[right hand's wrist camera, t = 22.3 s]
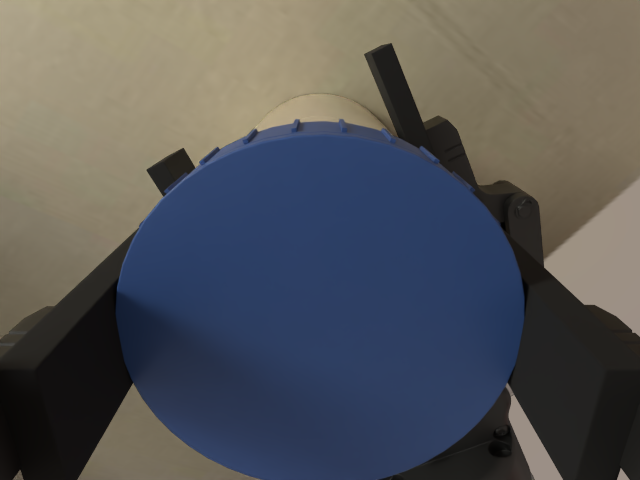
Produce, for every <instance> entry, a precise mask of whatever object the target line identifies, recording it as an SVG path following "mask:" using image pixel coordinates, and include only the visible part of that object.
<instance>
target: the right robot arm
mask: <svg viewBox="0 0 640 480" xmlns="http://www.w3.org/2000/svg"><path fill="white" fill-rule="evenodd" d="M138 230H139V228H138V229H137V230H136V231H135V232H134V233H133V234H132V235H131V236H130V237H129V238H127V239H126V240H125V241H124V242H123V243H122V244H121V245H120V246H119V247H118V248H117V249H116V250H115V251H114V252H113V253H111V254H110V255H109V256H108V257H107V258H106V259H105V260H104V261H103V262H102V263H101V264H100V265H99V266H98V267H96V268H95V269H94V270H93V271H92V272H91V273H90V274H89V275H88V276H87V277H86V278H85V279H84V280H83V281H82V282H80V283H79V284H78V285H77V286H76V287H75V288H74V289H73V290H72V291H71V292H70V293H69V294H68V295H67V296H65V297H64V298H63V299H62V300H61V301H60V302H59V303H58V304H57V305H56V306H47V307H45V308H43V309H41V310H39V311H37V312H35V313H33V314H31V315H30V316H28V317H26V318H24V319H23V320H22V321H21V322H20V323H19V324H17V325H16V326H15V327H14V328H13V329H12V330H11V331H9V335H5V336H4V337H3V338H1V339H0V480H13V478H14V477H15V476H16V474H17V473H18V472H19V470H21V473H22V476H23V479H24V480H77V479H78V477H79V476H80V474H81V472H82V471H83V469H84V467H85V465H86V464H87V462H88V460H89V458H90V457H91V455H92V453H93V451H94V450H95V448H96V446H97V444H98V443H99V441H100V439H101V438H102V436H103V434H104V432H105V431H106V429H107V427H108V425H109V424H110V422H111V420H112V418H113V417H114V415H115V413H116V412H117V410H118V408H119V406H120V405H121V403H122V401H123V399H124V398H125V396H126V394H127V392H128V391H129V389H130V387H131V385H132V384H133V381H132V379H131V377H130V375H129V372H128V370H127V367H126V365H125V362H124V357H123V353H122V347H121V342H120V337H119V332H118V326H117V321H116V315H115V310H116V294H117V286H118V281H119V277H120V272H121V268H122V264H123V262H124V259H125V257H126V254H127V252H128V249H129V246H130V244H131V242H132V240H133V238H134V237H135V235H136V233H137V231H138ZM502 230H503V229H502ZM503 232H504V234H505V236H506V238H507V240H508V241H509V243H510V245H511V247H512V249H513V252H514V255H515V258H516V261H517V264H518V267H519V270H520V273H521V278H522V284H523V290H524V296H525V318H524V324H523V330H522V335H521V340H520V345H519V350H518V355H517V360H516V364H515V367H514V369H513V371H512V373H511V376H510V378H509V380H508V382H507V383H508V385H509V386H510V388H511V390H512V392H513V393H514V395H515V397H516V398H517V400H518V402H519V404H520V405H521V407H522V409H523V411H524V412H525V414H526V416H527V418H528V419H529V421H530V423H531V425H532V426H533V428H534V430H535V431H536V433H537V435H538V437H539V438H540V440H541V442H542V444H543V445H544V447H545V449H546V450H547V452H548V454H549V456H550V458H551V459H552V461H553V463H554V464H555V466H556V468H557V470H558V471H559V473H560V475H561V477H562V478H563V480H617V477H618V475H619V472H620V468H622V470H623V471H624V472H625V474H626V475H627V477H628V478H629V479H630V480H640V337H639V336H638V335H637V334H636V333H632V330H631V329H630V328H629V327H628V326H627V325H625V324H624V323H623V322H622V321H621V320H620V319H619V318H617V317H616V316H614V315H612V314H611V313H609V312H607V311H605V310H603V309H601V308H599V307H597V306H595V305H584V304H583V303H581V302H580V301H579V300H578V299H577V298H576V297H575V296H574V295H573V294H572V293H571V292H570V291H569V290H568V289H566V288H565V287H564V286H563V285H562V284H561V283H560V282H559V281H558V280H557V279H556V278H555V277H554V276H553V275H552V274H550V273H549V272H548V271H547V270H546V269H545V268H544V267H543V266H542V265H541V264H540V263H539V262H538V261H537V260H535V259H534V258H533V257H532V256H531V255H530V254H529V253H528V252H527V251H526V250H525V249H524V248H523V247H522V246H521V245H519V244H518V243H517V242H516V241H515V240H514V239H513V238H512V237H511V236H510V235H509V234H508V233H507V232H506V231H504V230H503Z"/></svg>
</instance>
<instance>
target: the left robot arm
mask: <svg viewBox="0 0 640 480" xmlns="http://www.w3.org/2000/svg"><path fill="white" fill-rule="evenodd" d="M364 55H365V58H366V60H367V62H368V65H369V67H370V70H371V72H372V74H373V77H374V79H375V82H376V84H377V86H378V89H379V91H380V94H381V96H382V98H383V101H384V103H385V106H386V108H387V110H388V113H389V115H390V118H391V120H392V122H393V125H394V127H395V130H396V132H397V134H398V137H399V138H400V139H402V140H404V141H406V142H408V143H410V144H411V145H413V146H415V147H417V148H420V147H421V146H422V147H424V148H425V149H427V150H428V151H429V152H430V153H431V154H432V155H434V156H435V157H436V158H437V159H438V160H439V163H440V164H441V165H442V166H443V167H445V168H446V169H447V170H448V171H449V172H450V173H452V172H453V171H454V172H455V173H456V174H457V175H459V176H460V177H461V178H462V179H463V180H465V181H466V182H467V183H468V184H469V185H470V186H472V187H473V188H474V189H475V191H474V192H473V194H474V195H475V196H476V197H477V198H478V199H479V200H480V201H481V202H482V203H483V204H484V205H485V206H486V207H487V209H488V210H489V211H490V213H491V214H492V215H493V217H494V218H496V219H497V220H498V221H499V223H500V224H501V225H500V226H501V228H502V229H503V230H504V231H506V232H507V233H508V234H509V235H510V236H511V237H512V238H513V239H514V240H515V241H516V242H517V243H518V244H519V245H521V246H522V247H523V248H524V249H525V250H526V251H527V252H528V253H529V254H530V255H531V256H532V257H533V258H534V259H535V260H537V261H538V262H539V263H540V264H541V265H542V266H543V267H544V261H543V249H542V237H541V225H540V213H539V205H538V202H537V201H536V200H535V199H534V198H533V197H531V196H530V195H528V194H527V193H525V192H524V191H522V190H521V189H519V188H518V187H516V186H515V185H513V184H512V183H510V182H508V181H505V180H504V181H498V182H495V183H494V184H493V185H484V186H481V185H477V183H476V180H475V177H474V175H473V172H472V169H471V166H470V164H469V161H468V158H467V156H466V154H465V150H464V147H463V145H462V142H461V139H460V136H459V134H458V131H457V129H456V128H455V127H454V126H453V125H452V124H451V123H450V122H449V121H448V120H446V119H444V118H442V117H440V116H437V117H434V118H432V119H430V120H428V121H426V122H424V123H423V122H422V120H421V117H420V114H419V112H418V109H417V107H416V104H415V102H414V99H413V97H412V94H411V92H410V89H409V86H408V84H407V81H406V79H405V76H404V74H403V71H402V69H401V66H400V64H399V61H398V58H397V56H396V53H395V51H394V48H393V46H392V43H390V44H386V45H381V46H379V47H377V48H375V49H374V50H372V51H370V52H368V53H366V54H364ZM194 169H195V166H194V165H193V163H192V161H191V160H190V158H189V156H188V155H187V153H186V151H185V150H184V148H182V149H180V150H178V151H176V152H175V153H173V154H171V155H169V156H167V157H166V158H164V159H162V160H161V161H159V162H158V163H156V164H155V165H153V166H152V167H150V168H148V169H147V172H148V173H149V175H150V176H151V178H152V180H153V181H154V183H155V184H156V186H157V187H158V189H159V190H160V192H161V194H162V195H163V197H164V196H165V195H166V193H165V192H164V191H165V190H166V189H167V188H168V187H169V186H170V185H172V184H173V183H174V182H175V181H176V180H177V179H179V178H180V177H181V176H182V175H183V174H185V173H187V174H190V173H191V172H192V171H193V170H194ZM513 395H514V393H513V392H512V390H511V388H510V386H509V385H508V383H507V384H506V386H505V388H504V389H503V391H502V393H501V394H500V396H499V397H498V399H497V400H496V402H495V404H494V405H493V406H492V407H491V409H490V410H489V411H488V412H487V413H486V415H485V416H484V417H483V418H482V419H481V421H480V422H479V423H478V424H477V425H476V426H475V427H473V428H472V429H471V430H470V431H469V432H468V433H467V434H466V435H465V436H464V437H463V438H461V439H460V440H459V441H457V442H456V443H455V444H453V445H452V446H451V447H449V448H448V449H447V450H445V451H444V452H442V453H440V454H438V455H437V456H435V457H433V458H432V459H430V460H428V461H426V462H424V463H422V464H420V465H418V466H415V467H413V468H411V469H409V470H407V471H404V472H401V473H398V474H395V475H392V476H389V477H386V478H383V479H379V480H535V479H534V477H533V475H532V474H531V472H530V469H529V466H528V463H527V461H526V459H525V456H524V454H523V452H522V449H521V447H520V445H519V442H518V440H517V437H516V435H515V433H514V430H513V428H512V426H511V423H510V421H509V418H508V413H509V409H510V405H511V396H513Z"/></svg>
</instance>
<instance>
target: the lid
mask: <svg viewBox="0 0 640 480" xmlns="http://www.w3.org/2000/svg"><path fill="white" fill-rule="evenodd" d="M199 163H200V165H199V166H198V167H196V168H195V169H194V170H193V171H192V172H191V173H190V174H187V173H185V174H183V175H182V176H181V177H180V178H179V179H177V180H176V181H175V182H174V183H173V184H172V185H170V186H169V187H168V188H167V189H166V190H165V191H164V192H165V193H166V195H165V196H164V197H163V198H162V199H161V200H160V201H159V202H158V204H157V205H156V206H155V207H154V209H153V210H152V211H151V212H150V213H149V215H148V216H147V217H146V218H145V220H144V221H142V222H141V224H140V225H139V227H140V228H139V230H138V231H137V233H136V235H135V237H134V238H133V240H132V242H131V244H130V246H129V249H128V252H127V254H126V257H125V259H124V262H123V264H122V268H121V272H120V277H119V281H118V286H117V294H116V310H115V315H116V321H117V326H118V332H119V337H120V342H121V347H122V353H123V357H124V362H125V365H126V367H127V370H128V372H129V375H130V377H131V379H132V381H133V383H134V385H135V386H136V388H137V390H138V392H139V393H140V395H141V397H142V399H143V400H144V401H145V402H146V404H147V405H148V406H149V408H150V409H151V410H152V412H153V413H154V414H155V416H156V417H157V418H158V419H159V420H160V421H161V422H162V423H163V424H164V425H165V426H166V427H167V428H168V429H169V430H170V431H171V432H172V433H173V434H175V435H176V436H177V437H178V438H180V439H181V440H182V441H183V442H185V443H186V444H187V445H188V446H190V447H191V448H193V449H194V450H196V451H197V452H199V453H201V454H202V455H204V456H205V457H207V458H209V459H211V460H213V461H215V462H217V463H219V464H221V465H223V466H225V467H227V468H229V469H232V470H234V471H237V472H240V473H242V474H245V475H248V476H251V477H255V478H259V479H262V480H379V479H383V478H386V477H389V476H392V475H395V474H398V473H401V472H404V471H407V470H409V469H411V468H413V467H415V466H418V465H420V464H422V463H424V462H426V461H428V460H430V459H432V458H433V457H435V456H437V455H438V454H440V453H442V452H444V451H445V450H447V449H448V448H449V447H451V446H452V445H453V444H455V443H456V442H457V441H459V440H460V439H461V438H463V437H464V436H465V435H466V434H467V433H468V432H469V431H470V430H471V429H472V428H473V427H475V426H476V425H477V424H478V423H479V422H480V421H481V419H482V418H483V417H484V416H485V415H486V413H487V412H488V411H489V410H490V409H491V407H492V406H493V405H494V404H495V402H496V400H497V399H498V397H499V396H500V394H501V393H502V391H503V389H504V388H505V386H506V384H507V382H508V380H509V378H510V376H511V373H512V371H513V369H514V367H515V364H516V360H517V355H518V350H519V345H520V340H521V335H522V330H523V324H524V318H525V296H524V290H523V284H522V278H521V273H520V270H519V267H518V264H517V261H516V258H515V255H514V252H513V249H512V247H511V245H510V243H509V241H508V240H507V238H506V236H505V234H504V232H503V230H502V228H501V226H500V225H501V224H500V223H499V221H498V220H497V219H496V218H494V217H493V215H492V214H491V213H490V211H489V210H488V209H487V207H486V206H485V205H484V204H483V203H482V202H481V201H480V200H479V199H478V198H477V197H476V196H475V195H474V194H473V192H474V191H475V189H474V188H473V187H472V186H470V185H469V184H468V183H467V182H466V181H465V180H463V179H462V178H461V177H460V176H459V175H457V174H456V173H455V172H454V171H453V172H452V173H450V172H449V171H448V170H447V169H446V168H445V167H443V166H442V165H441V164H440V163H439V160H438V159H437V158H436V157H435V156H434V155H432V154H431V153H430V152H429V151H428V150H427V149H425V148H424V147H422V146H421V147H420V148H417V147H415V146H413V145H411V144H410V143H408V142H406V141H404V140H402V139H400V138H398V137H395V136H393V135H391V134H390V132H389V131H388V130H387V129H385V128H382V130H381V131H379V130H377V129H373V128H368V127H364V126H360V125H355V124H351V123H345V121H344V119H339V122H329V121H317V122H300V119H295V121H294V123H292V124H286V125H281V126H275V127H271V128H268V129H265V130H262V131H259V132H258V131H257V129H253V130H252V131H251V132H250V133H249V134H248V135H247V136H245V137H243V138H241V139H239V140H237V141H235V142H233V143H231V144H229V145H227V146H225V147H223V148H222V149H219V148H218V147H217V148H215V149H214V150H212V151H211V152H210V153H209V154H208V155H207V156H205V157H204V158H203V159H202V160H201V161H200V162H199Z"/></svg>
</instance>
